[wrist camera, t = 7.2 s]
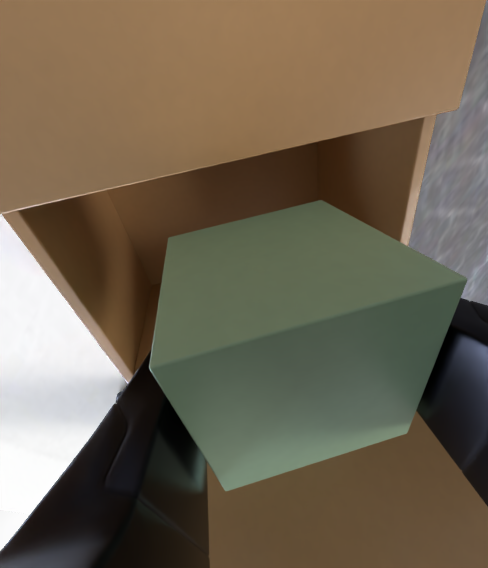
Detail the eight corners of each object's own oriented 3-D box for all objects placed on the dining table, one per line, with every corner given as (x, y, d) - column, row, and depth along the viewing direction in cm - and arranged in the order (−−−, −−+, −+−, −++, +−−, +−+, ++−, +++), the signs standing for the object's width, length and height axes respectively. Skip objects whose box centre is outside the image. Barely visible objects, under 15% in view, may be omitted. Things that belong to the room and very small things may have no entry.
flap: (405, 315, 12) (401, 318, 13) (123, 396, 11) (127, 396, 12) (555, 545, 8) (543, 541, 8) (126, 703, 7) (132, 690, 7)
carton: (321, 243, 20) (406, 318, 12) (148, 288, 19) (123, 399, 11) (320, -121, 10) (694, -795, 3) (-24, -67, 10) (-889, -858, 2)
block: (321, 315, 11) (408, 434, 7) (209, 346, 10) (224, 492, 6) (321, 199, 8) (470, 278, 4) (167, 236, 8) (147, 369, 3)
